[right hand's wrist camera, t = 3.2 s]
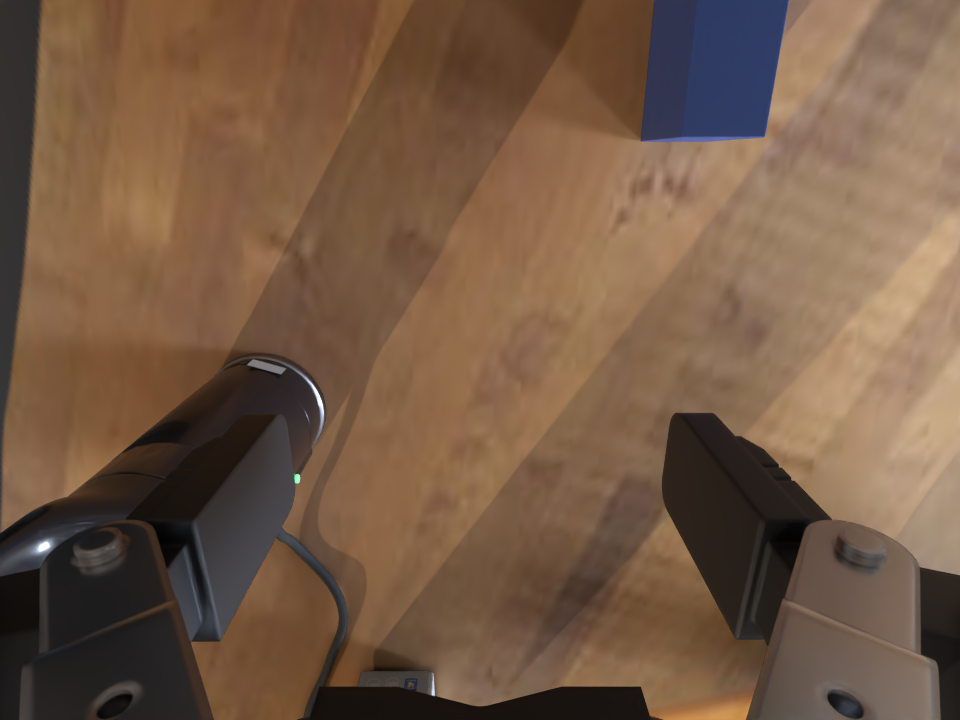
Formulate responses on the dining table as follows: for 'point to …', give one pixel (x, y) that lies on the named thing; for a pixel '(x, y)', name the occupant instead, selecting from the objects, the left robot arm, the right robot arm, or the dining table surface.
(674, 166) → the dining table surface
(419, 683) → the hard drive box
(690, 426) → the right robot arm
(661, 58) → the bar
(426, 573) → the dining table surface
